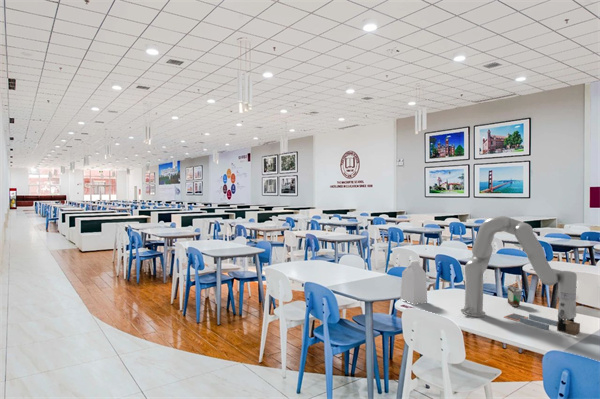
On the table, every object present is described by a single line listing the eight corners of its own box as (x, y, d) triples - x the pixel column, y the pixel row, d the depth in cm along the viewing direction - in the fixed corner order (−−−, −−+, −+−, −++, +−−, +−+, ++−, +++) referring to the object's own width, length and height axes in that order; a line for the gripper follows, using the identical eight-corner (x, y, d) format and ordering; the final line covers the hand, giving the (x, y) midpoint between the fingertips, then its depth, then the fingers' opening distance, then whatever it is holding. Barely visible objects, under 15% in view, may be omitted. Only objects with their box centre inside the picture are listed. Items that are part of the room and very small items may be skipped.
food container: (524, 308, 234) (525, 292, 234) (513, 307, 236) (514, 291, 235) (517, 302, 246) (517, 287, 246) (506, 302, 248) (507, 286, 247)
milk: (413, 304, 239) (414, 263, 238) (400, 300, 249) (401, 260, 248) (427, 302, 245) (428, 261, 244) (413, 297, 255) (414, 258, 254)
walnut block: (575, 335, 192) (575, 325, 192) (557, 330, 198) (557, 321, 198) (579, 333, 195) (579, 323, 195) (561, 328, 202) (561, 319, 202)
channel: (547, 330, 199) (548, 325, 199) (519, 322, 210) (520, 317, 210) (557, 325, 205) (557, 321, 205) (529, 318, 216) (529, 314, 216)
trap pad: (518, 321, 211) (518, 320, 211) (503, 317, 218) (503, 316, 218) (527, 317, 217) (527, 316, 217) (513, 313, 224) (513, 312, 224)
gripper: (568, 300, 188) (567, 334, 189) (582, 294, 198) (581, 327, 199) (551, 296, 195) (550, 329, 195) (566, 291, 204) (565, 323, 205)
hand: (566, 328), depth 197 cm, fingers open, 9 cm apart
